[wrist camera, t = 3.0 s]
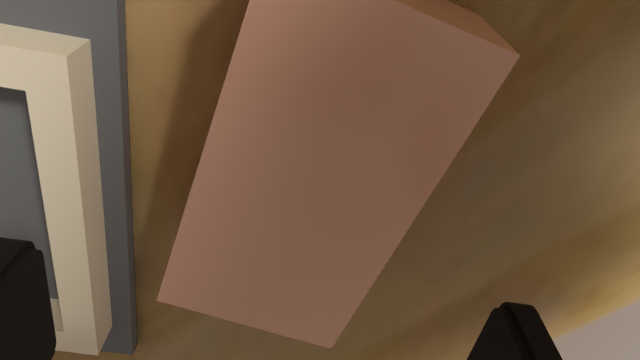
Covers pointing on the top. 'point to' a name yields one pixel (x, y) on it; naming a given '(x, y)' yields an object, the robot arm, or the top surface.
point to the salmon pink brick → (326, 155)
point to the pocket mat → (71, 162)
